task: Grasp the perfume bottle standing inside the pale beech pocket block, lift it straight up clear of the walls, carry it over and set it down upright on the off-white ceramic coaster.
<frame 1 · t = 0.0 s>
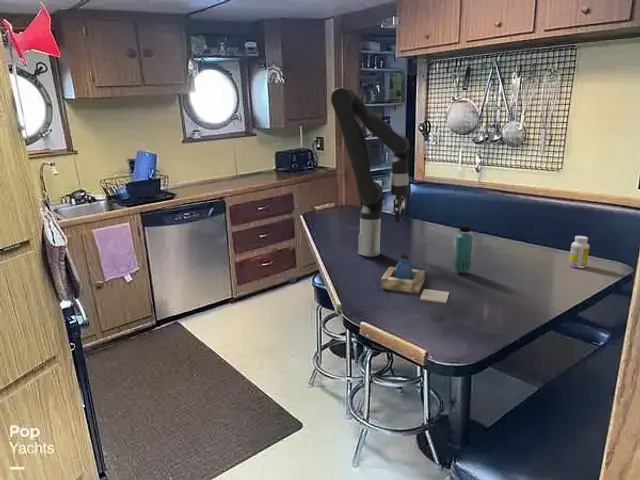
hand: (399, 219, 205), 17 cm above the table, tool pointing down, fingers open, 8 cm apart
beverage bottle: (461, 273, 189), on the table
pocket block: (403, 284, 178), on the table
perfume bottle: (403, 284, 178), resting in pocket block
coaster: (434, 296, 166), on the table
supplement bottle: (577, 266, 196), on the table
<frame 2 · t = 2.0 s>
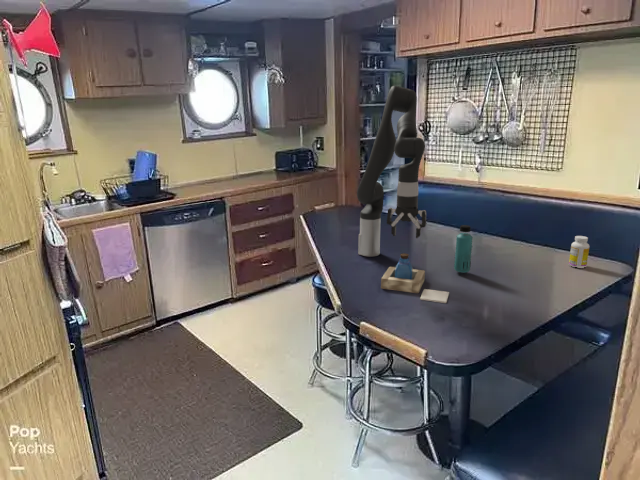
hand: (405, 236, 172), 19 cm above the table, tool pointing down, fingers open, 8 cm apart
nothing on the table moved.
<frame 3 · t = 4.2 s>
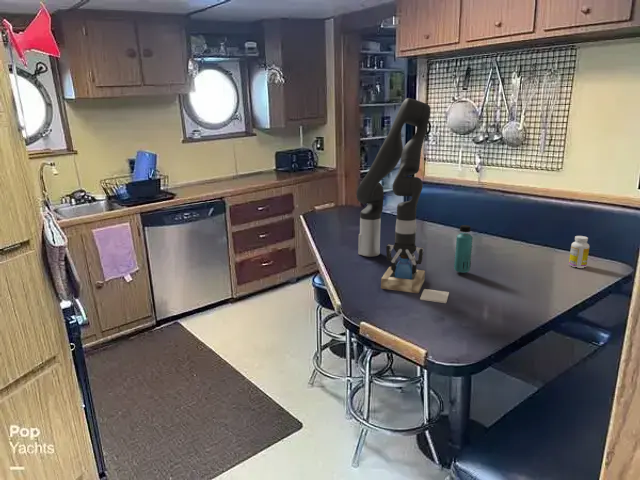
hand: (403, 272, 176), 5 cm above the table, tool pointing down, fingers closed on perfume bottle, 6 cm apart
perfume bottle: (403, 284, 178), resting in pocket block, touching gripper
everything else where it was.
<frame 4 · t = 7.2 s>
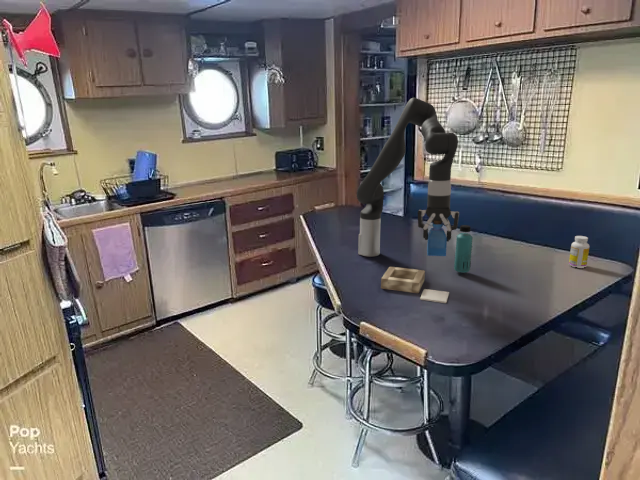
hand: (437, 240, 161), 21 cm above the table, tool pointing down, fingers closed on perfume bottle, 6 cm apart
perfume bottle: (436, 253, 162), point 16 cm above the table, touching gripper
everything else where it was.
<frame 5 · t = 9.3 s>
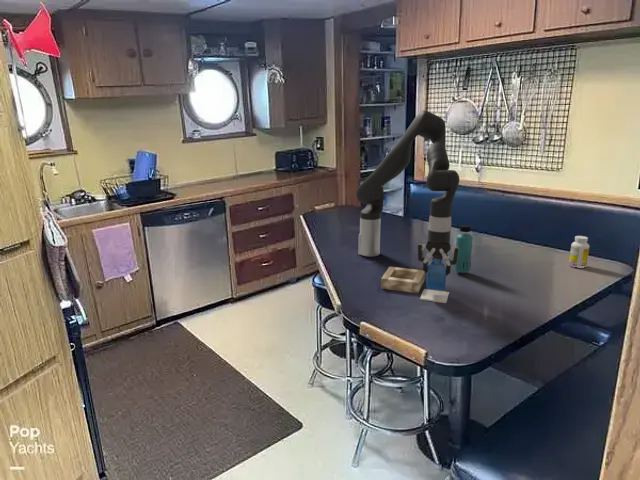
hand: (436, 273, 164), 9 cm above the table, tool pointing down, fingers closed on perfume bottle, 6 cm apart
perfume bottle: (435, 286, 165), point 4 cm above the table, touching gripper
everything else where it was.
when the fingers open (7 cm above the table, at t = 10.7 s): perfume bottle drops 2 cm, resting on coaster.
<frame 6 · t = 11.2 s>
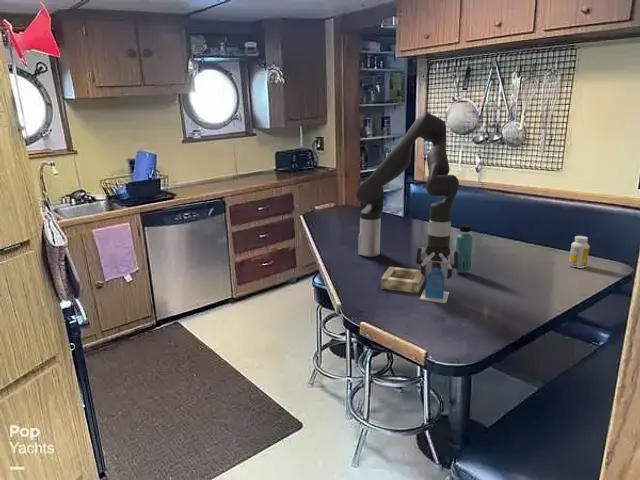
hand: (436, 276, 164), 8 cm above the table, tool pointing down, fingers open, 8 cm apart
perfume bottle: (434, 295, 166), resting on coaster
everything else where it was.
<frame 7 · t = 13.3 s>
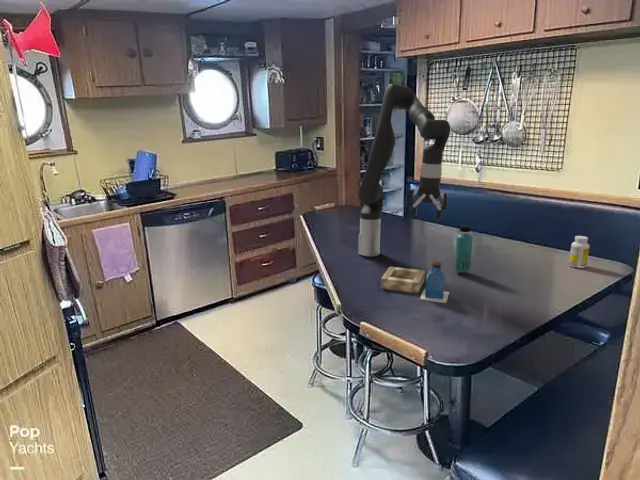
hand: (426, 217, 175), 25 cm above the table, tool pointing down, fingers open, 8 cm apart
nothing on the table moved.
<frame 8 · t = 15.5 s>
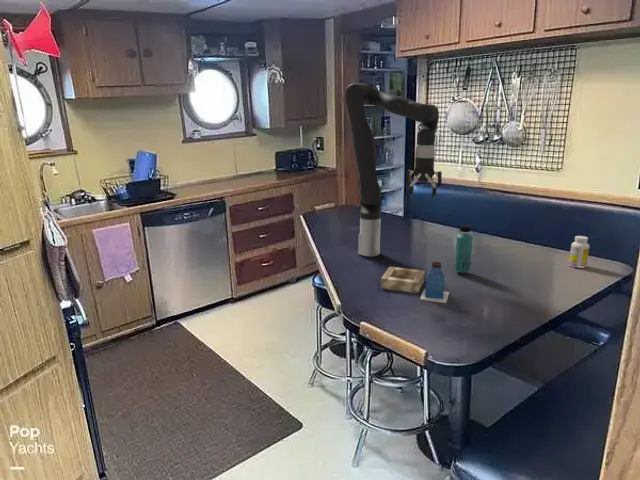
hand: (422, 196, 190), 30 cm above the table, tool pointing down, fingers open, 8 cm apart
nothing on the table moved.
at the end: perfume bottle inside the target area on the coaster (0.2 cm from its centre), point 0.4 cm above the coaster's base; perfume bottle tilted 0°; the gripper is holding nothing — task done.
